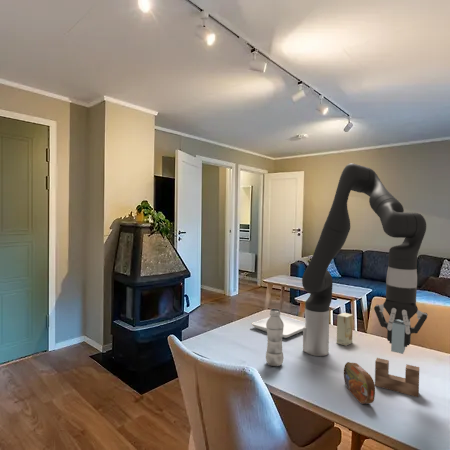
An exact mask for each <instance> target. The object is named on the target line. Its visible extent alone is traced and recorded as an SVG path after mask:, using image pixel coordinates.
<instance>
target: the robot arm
mask: <svg viewBox="0 0 450 450" xmlns="http://www.w3.org/2000/svg"><path fill="white" fill-rule="evenodd" d="M352 191H353V192H355V193H362V194H365V195H367V196H368V197H369V206H370V208H371V209H372V211H373V212H374V213H375V214H376V216H377V217H378V218H379V220H380V223H381V225H382V230H383V232H384V233H385V235H387V236H389V237H391V238H400V239H401V238H404V240H403V242H402V243H401V244H399V245H394V246H391V247H390V248H389V250H388V267H387V272H386V279H385V282H386V283H385V301H384V302H383V304H376V305H374V308H373V311H374V313H375V315H376V317H377V319H378V323H379V325H380V327H382V328H385V329H386V330H387V335H386V340H387V342H389V344H391V343H392V323H393V322H394V321H395V320H401V321H403V322H404V325H405V338H404V347H405V348H407V347H408V346H410V345H411V338H412V334H415V335H416V334H418V333H419V331H420V330H421V328H422V326H423V325H424V324H425V322H426V320H427V318H428V313H427V312H423V311H421V310H419V309H418V306H417V291H418V290H417V288H418V272H417V271H418V270H417V269H418V267H417V266H418V254H419V252H420V249H421V246H422V243H423V240H424V238H425V235H426V231H427V222H426V219H425V217H424V216H423V214H421V213H418V212H405V211H404V210H405V209H404V206H403V204H402V203H401V202H400V201H399V200H398V199H397V198H396V197H395V196H394V195H392V194H391V193H390V192H389V191H388V190H387V188H386V187H385V185H384V184H383V182H382V180H381V178H379V176H378V174H377V172H375V170H374V169H372V168H370V167H366V166H364V165H361V164H356V163H348V164H347V165H345V167H344V168H343V170H342V172H341V175H340V177H339V180H338V183H337V187H336V189H335V193H334V194H335V195H334V198H333V201H332V204H331V207H330V210H329V212H328V215H327V217H326V220H325V222H324V225H323V227H322V230H321V233H320V235H319V239H318V241H317V244H316V246H315V249H314V251H313V254H312V257H311V259H310V260H309V263H308V264H307V267H306V269H305V270H304V272H303V275H302V279H301V284H302V287H303V289H304V291H305V292H307V293H309V294H310V295H309V296H308V298H307V299H306V300H305V305H304V306H305V308H304V309H305V310H304V312H305V313H304V314H305V315H304V322H305V327H304V328H303V331H302V352H305V353H306V354H308V355H310V356H315V357H325V356H327V355H329V354H330V353H329V351H330V350H329V349H330V347H329V346H330V345H329V344H330V306H331V303H332V300H333V299H332V297H333V277H332V274H331V273H330V271H329V270H328V268H329V266H330V264H331V262H332V261H333V259H334V258H335V257H336V256H337V254H338V253H339V252H340V251H341V249H342V248H343V246H344V244H345V243H346V240H347V238H348V236H349V233H350V231H351V221H350V214H349V210H348V202H349V201H348V200H349V197H350V193H351V192H352ZM384 309H385V311H386V313H387V314H388V316H389V319H388V322H387V321H386V318H385V315H384V313H383V312H384ZM415 315H416V318H417V319H418V320H417V322H416V324H415V325H414V327H412V325H411V319H412V317H414V316H415Z"/></svg>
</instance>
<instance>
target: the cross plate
mask: <svg viewBox="0 0 450 450" xmlns="http://www.w3.org/2000/svg"><path fill="white" fill-rule="evenodd" d="M404 338H405V325H404V322H403V321H401V320H395V321H394V322H393V323H392V343H390V344H391V346H390V352H393V353H398V354H400V355H404V353H405V352H406V351H405V350H406V347H404Z"/></svg>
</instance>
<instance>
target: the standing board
mask: <svg viewBox="0 0 450 450" xmlns="http://www.w3.org/2000/svg"><path fill="white" fill-rule="evenodd" d="M375 359H376V360H375V363H374V364H375V368H374V385H375V387H377V388H378V387H379V388H382V389H385V390H390V391H393V392H397V393H400V394H404V395H408V396H412V397H416V398H419V396H420V395H419V394H420V367H419V366H416V365H412V364H411V365H410V364H406V365H405V374H404V375H405V377H401V376H397V375H394V374H389V369H390V368H389V367H390V360H389V359H385V358H380V357H376V358H375Z"/></svg>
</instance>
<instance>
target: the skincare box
mask: <svg viewBox="0 0 450 450" xmlns="http://www.w3.org/2000/svg"><path fill="white" fill-rule="evenodd" d="M336 319H337V320H336V344H339V345H342V346H348V345H351V344H353V331H354V330H353V328H354V327H353V326H354V315H353V314H352V313H348V312H342V313H339V314H337V317H336Z"/></svg>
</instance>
